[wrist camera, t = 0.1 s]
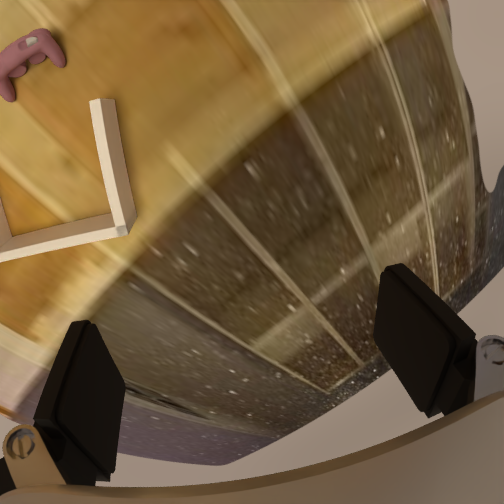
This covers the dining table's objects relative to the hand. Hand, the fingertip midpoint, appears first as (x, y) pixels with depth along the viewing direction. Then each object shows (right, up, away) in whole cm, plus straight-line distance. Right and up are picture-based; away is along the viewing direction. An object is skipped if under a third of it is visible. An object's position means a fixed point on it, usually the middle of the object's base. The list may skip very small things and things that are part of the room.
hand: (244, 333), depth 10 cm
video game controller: (-27, +26, +18) cm, 42 cm away
